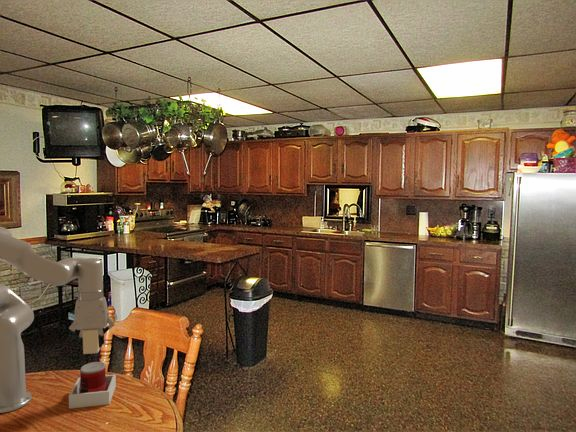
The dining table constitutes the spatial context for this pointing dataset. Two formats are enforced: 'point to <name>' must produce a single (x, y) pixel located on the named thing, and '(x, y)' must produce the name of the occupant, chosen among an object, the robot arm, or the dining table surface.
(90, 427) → the dining table surface
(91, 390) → the canned food
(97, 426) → the dining table surface
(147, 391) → the dining table surface
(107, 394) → the box
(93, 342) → the plain beige cuboid
